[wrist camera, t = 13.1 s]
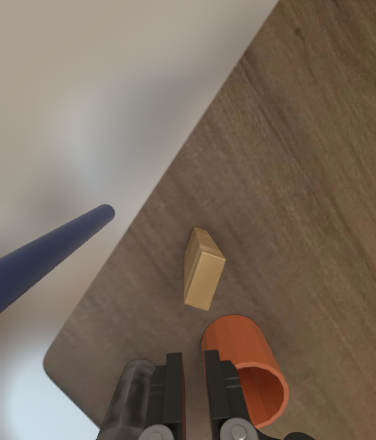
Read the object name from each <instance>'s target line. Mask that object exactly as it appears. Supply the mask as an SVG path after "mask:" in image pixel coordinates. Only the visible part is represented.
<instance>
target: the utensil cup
mask: <svg viewBox="0 0 376 440" xmlns="http://www.w3.org/2000/svg"><path fill="white" fill-rule="evenodd" d="M201 348H202V358H203V367H204V376H205V363H204V350H215V349H218V351H219V356H220V361H223V360H230V361H231V362H232V363H233V364H234V365H235V367H236V368H237V372H238V375H239V379H240V383H241V387H242V390H243V394H244V397H245V401H246V405H247V408H248V412H249V416H250V419H251V421H252V423H253V425H254V426H255V427H256V428H257V429H259V428H262V427H264V426H266V425H269V424H271V423H272V422H273V421H275V420H276V419H277V418H278V417H279V416H280V415H281V414H282V413H283V411H284V409H285V407H286V405H287V403H288V400H289V387H288V385H287V383H286V380H285V378H284V376H283V374H282V372H281V370H280V368H279V366H278V364H277V362H276V360H275V358H274V356H273V354H272V352H271V350H270V348H269V345H268V343H267V341H266V339H265V337H264V335H263V333H262V331H261V329H260V328H259V326H258V325H257V324H256V323H255V322H254V321H252V320H251V319H249V318H247V317H244V316H240V315H228V316H224V317H221V318H219V319H217V320H215V321H214V322H212V323H211V324H210V325H209V326H208V327H207V329H206V330H205V332H204V334H203V336H202V341H201ZM205 384H206V377H205ZM206 393H207V388H206ZM207 402H208V397H207ZM208 408H209V406H208Z"/></svg>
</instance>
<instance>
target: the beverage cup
mask: <svg viewBox="0 0 376 440" xmlns="http://www.w3.org/2000/svg"><path fill="white" fill-rule="evenodd" d="M155 368H156V367H155V365H154V364H153V363H151V362H150V361H148V360H144V359H136V360H133V361H131V362H130V363H128V364H127V365H126V367H125V368H124V371H123V373H122V375H121V377H120V379H119V382H118V385H117V387H116V390H115V392H114V395H113V398H112V400H111V403H110V405H109V408H108V410H107V413H106V416H105V418H104V421H103V423H102V426H101V429H100V431H99V434H98V436H97V439H96V440H138V438H139V436H140V435H141V433H142V432H143V430H144V425H145V418H146V411H147V404H148V396H149V389H150V382H151V375H152V373H153V372H154V370H155Z"/></svg>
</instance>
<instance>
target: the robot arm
mask: <svg viewBox="0 0 376 440" xmlns="http://www.w3.org/2000/svg"><path fill="white" fill-rule="evenodd" d="M204 363H205V377H206V388H207V397H208V406H209V414H210V423H211V432H212V440H280V439H276V438H272V437H269V436H266V435H264V434H263V433H261V432H260V431H259V430H257V428H256V427H255V426H254V425H253V423H252V421H251V419H250V416H249V412H248V408H247V405H246V401H245V397H244V394H243V390H242V387H241V383H240V379H239V375H238V372H237V368H236V367H235V365H234V364H233V363H232V362H231V361H230V360H223V361H220V356H219V351H218V349H215V350H204ZM138 440H186V417H185V382H184V370H183V360H182V352H180V353H168V354H167V362H166V365H165V366H157V367H156V368H155V370H154V372H153V373H152V375H151V382H150V389H149V396H148V404H147V411H146V418H145V425H144V430H143V432H142V433H141V435H140V436H139V438H138ZM284 440H315V439H313V438H312V437H310V436H309V435H307V434H304V433H301V432H293V433H290V434H288V435H287V436H286V437H285V438H284Z"/></svg>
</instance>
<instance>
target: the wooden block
mask: <svg viewBox="0 0 376 440" xmlns="http://www.w3.org/2000/svg"><path fill="white" fill-rule="evenodd" d="M225 262H226V259H225V257H224V256H223V254H222V253H221V251H220V250H219V248H218V247H217V245H216V244H215V242H214V241H213V239H212V238H211V236H210V235H209V233H208V232H207V231H206V230H203V229H200V228H197V227H194V228H193V231H192V234H191V237H190V240H189V242H188V245H187V248H186V251H185V254H184V303H185V304H187V305H190V306H193V307H197V308H200V309H203V310H206V311H208V309H209V307H210V304H211V301H212V298H213V295H214V293H215V290H216V287H217V284H218V281H219V279H220V276H221V273H222V270H223V268H224V265H225Z"/></svg>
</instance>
